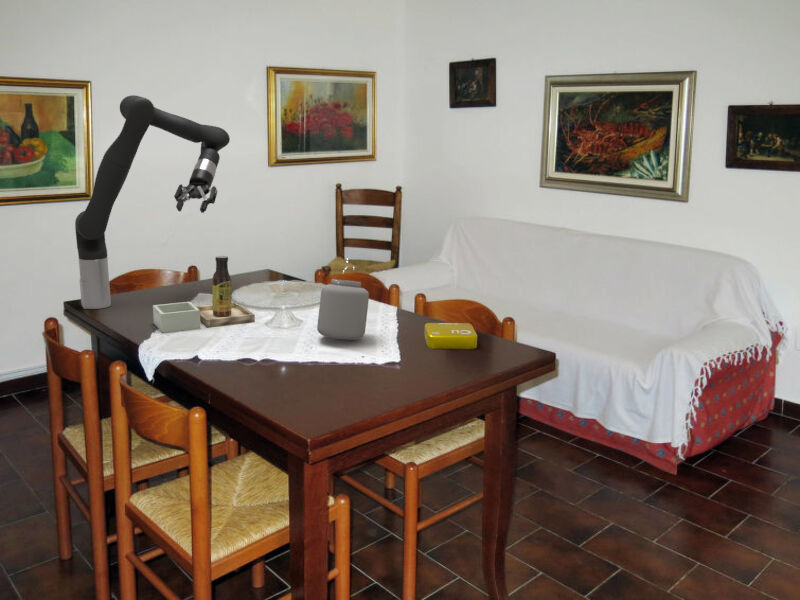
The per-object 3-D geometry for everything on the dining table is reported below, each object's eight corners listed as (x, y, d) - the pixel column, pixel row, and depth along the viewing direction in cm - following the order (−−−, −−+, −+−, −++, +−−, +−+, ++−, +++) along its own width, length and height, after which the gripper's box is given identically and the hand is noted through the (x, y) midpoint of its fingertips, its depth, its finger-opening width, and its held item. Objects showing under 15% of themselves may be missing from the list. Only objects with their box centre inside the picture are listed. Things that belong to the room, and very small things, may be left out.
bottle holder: (162, 332, 238) (161, 314, 236) (153, 323, 248) (152, 305, 246) (200, 328, 244) (199, 310, 242) (190, 319, 254) (190, 301, 252)
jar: (338, 327, 248) (339, 251, 242) (379, 333, 242) (380, 256, 236) (308, 342, 232) (307, 261, 226) (350, 349, 226) (351, 267, 220)
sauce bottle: (221, 318, 252) (219, 259, 247) (208, 315, 255) (206, 256, 250) (236, 314, 257) (234, 256, 252) (224, 311, 260) (222, 254, 256)
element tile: (470, 335, 244) (471, 321, 243) (477, 350, 230) (478, 335, 228) (423, 335, 243) (424, 321, 242) (428, 350, 229) (428, 334, 228)
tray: (206, 327, 245) (206, 320, 244) (192, 314, 260) (191, 307, 259) (254, 321, 252) (254, 314, 252) (237, 309, 267) (237, 302, 267)
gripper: (181, 167, 271) (167, 202, 262) (218, 168, 268) (205, 205, 260) (188, 180, 277) (174, 216, 269) (225, 182, 275) (212, 218, 266)
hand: (190, 210), depth 264 cm, fingers open, 8 cm apart
